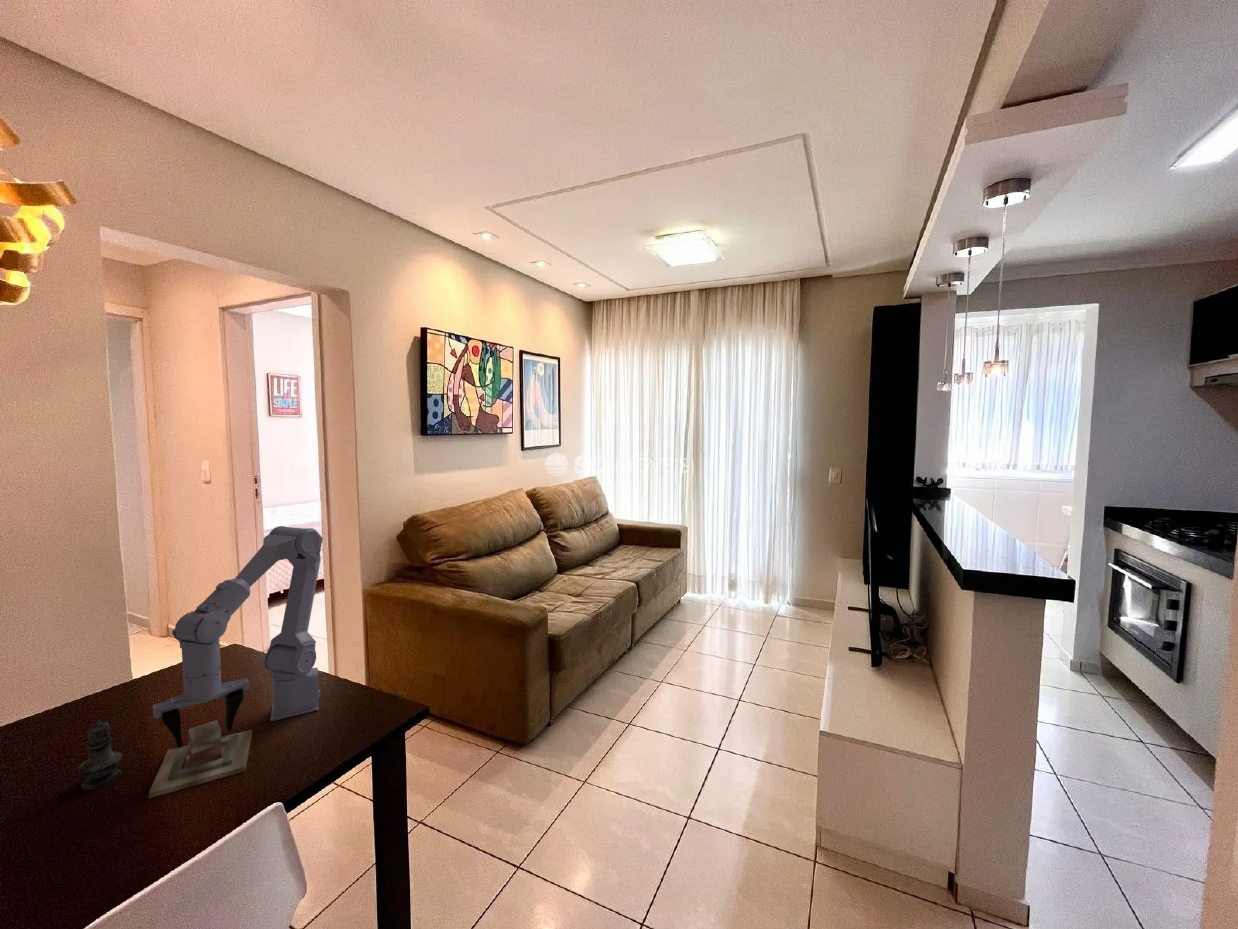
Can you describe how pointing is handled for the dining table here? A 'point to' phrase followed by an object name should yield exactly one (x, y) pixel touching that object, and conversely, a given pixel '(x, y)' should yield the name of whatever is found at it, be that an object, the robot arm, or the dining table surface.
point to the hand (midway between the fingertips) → (205, 736)
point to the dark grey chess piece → (99, 758)
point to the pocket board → (201, 765)
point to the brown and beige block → (205, 743)
